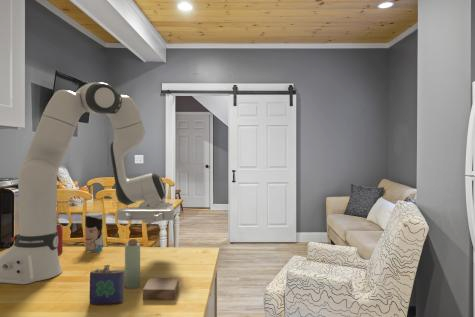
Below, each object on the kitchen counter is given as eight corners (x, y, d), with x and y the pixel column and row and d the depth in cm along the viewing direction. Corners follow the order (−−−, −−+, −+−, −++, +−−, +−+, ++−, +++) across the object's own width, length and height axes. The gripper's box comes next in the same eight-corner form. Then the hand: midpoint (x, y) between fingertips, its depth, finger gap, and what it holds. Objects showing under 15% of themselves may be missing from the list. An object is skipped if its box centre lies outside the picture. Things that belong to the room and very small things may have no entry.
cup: (84, 248, 157) (84, 213, 156) (101, 246, 160) (101, 212, 159) (86, 252, 151) (86, 216, 150) (103, 250, 154) (103, 214, 153)
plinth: (142, 299, 106) (142, 289, 106) (149, 287, 115) (149, 278, 115) (174, 299, 106) (174, 289, 106) (178, 287, 115) (178, 278, 115)
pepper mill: (123, 288, 114) (123, 240, 113) (127, 283, 119) (127, 236, 118) (138, 288, 114) (138, 240, 114) (141, 283, 119) (141, 236, 118)
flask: (124, 300, 106) (124, 263, 105) (122, 304, 103) (122, 266, 102) (91, 301, 105) (90, 263, 104) (87, 305, 102) (87, 267, 101)
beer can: (55, 256, 145) (54, 226, 145) (40, 255, 146) (40, 225, 146) (66, 251, 152) (66, 222, 151) (51, 250, 153) (51, 221, 152)
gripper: (122, 202, 141) (111, 209, 127) (176, 202, 141) (171, 209, 127) (122, 219, 141) (111, 227, 127) (176, 219, 142) (171, 227, 128)
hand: (141, 218), depth 127 cm, fingers open, 8 cm apart
